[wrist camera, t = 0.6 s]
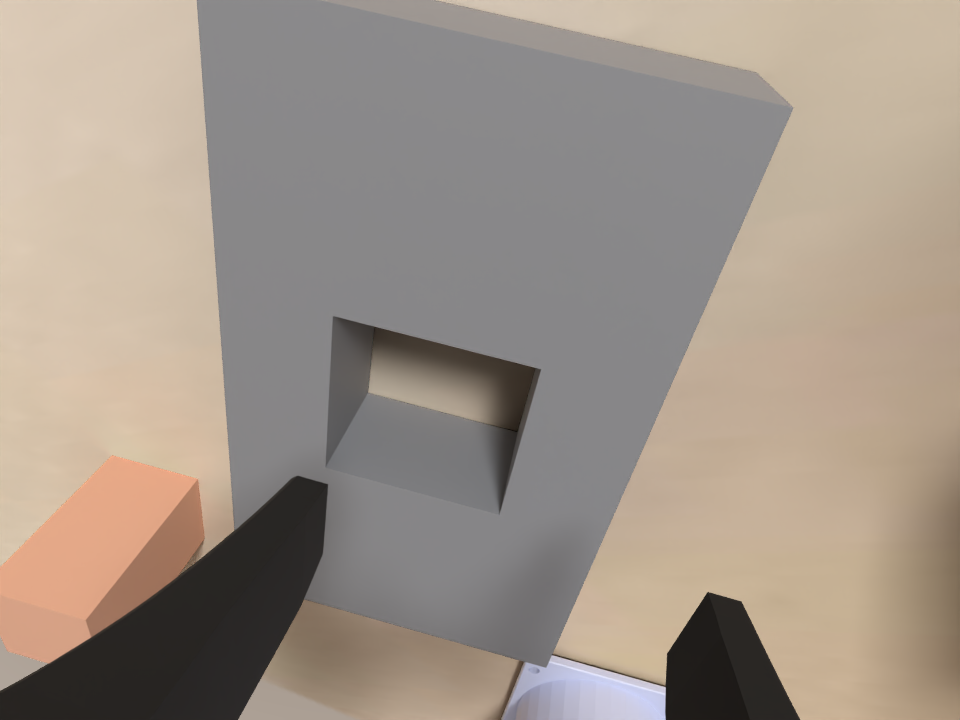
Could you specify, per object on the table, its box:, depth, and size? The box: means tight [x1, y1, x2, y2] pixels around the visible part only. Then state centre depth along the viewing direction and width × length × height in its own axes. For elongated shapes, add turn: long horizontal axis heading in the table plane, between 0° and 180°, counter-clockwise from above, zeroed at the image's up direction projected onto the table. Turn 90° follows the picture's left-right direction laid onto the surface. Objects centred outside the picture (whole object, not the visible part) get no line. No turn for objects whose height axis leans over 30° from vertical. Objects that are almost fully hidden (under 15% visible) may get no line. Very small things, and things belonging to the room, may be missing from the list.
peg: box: [0, 455, 205, 663], centre depth 26 cm, size 4×4×7 cm
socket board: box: [197, 0, 793, 668], centre depth 20 cm, size 20×12×4 cm, turn 170°
